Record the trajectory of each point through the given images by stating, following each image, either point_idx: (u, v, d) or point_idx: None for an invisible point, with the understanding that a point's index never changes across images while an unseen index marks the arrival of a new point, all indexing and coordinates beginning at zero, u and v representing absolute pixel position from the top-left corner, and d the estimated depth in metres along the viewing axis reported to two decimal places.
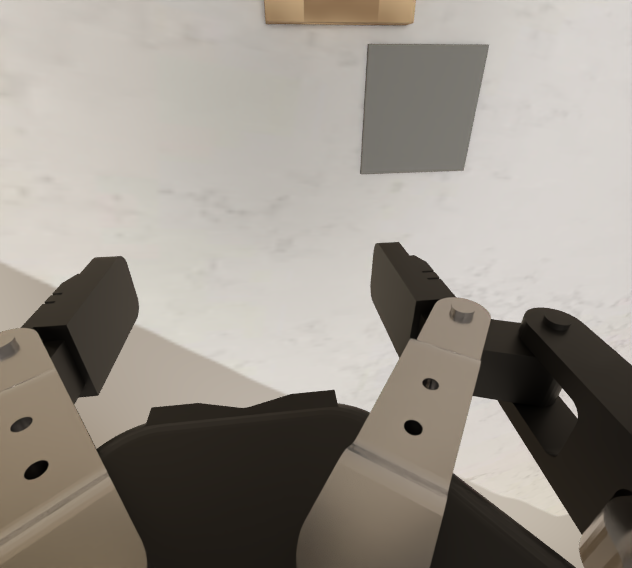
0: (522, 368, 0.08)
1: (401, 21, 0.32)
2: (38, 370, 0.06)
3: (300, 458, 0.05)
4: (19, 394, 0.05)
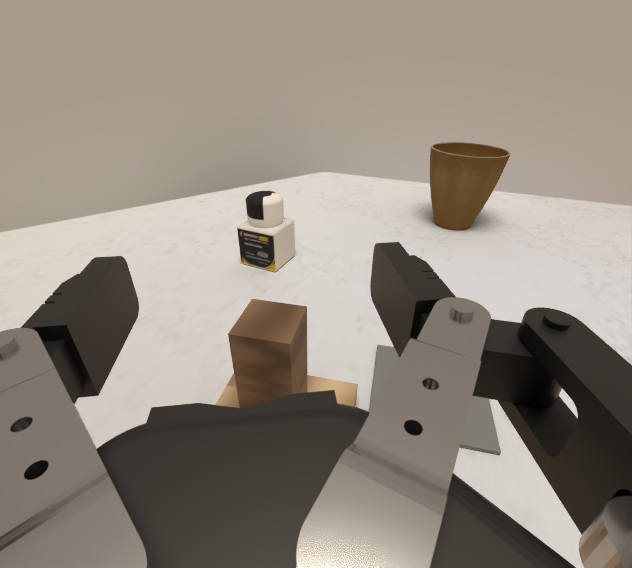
0: (522, 368, 0.08)
1: (355, 392, 0.36)
2: (38, 370, 0.06)
3: (300, 458, 0.05)
4: (19, 394, 0.05)
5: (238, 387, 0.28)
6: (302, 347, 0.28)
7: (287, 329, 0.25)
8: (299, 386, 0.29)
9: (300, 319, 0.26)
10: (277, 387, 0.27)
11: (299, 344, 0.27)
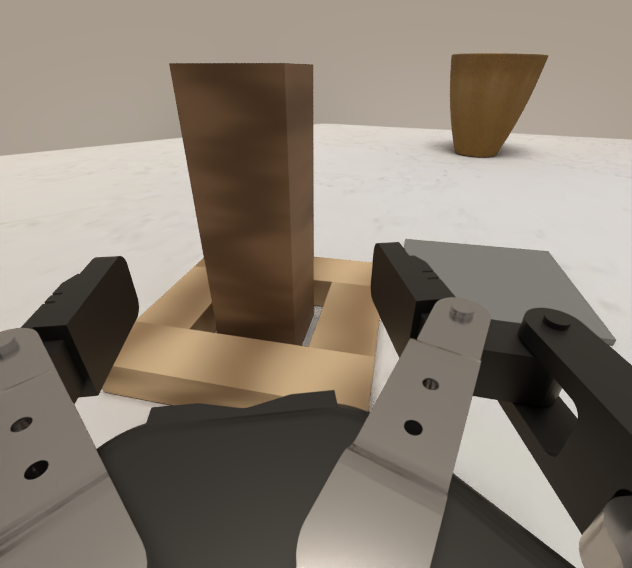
0: (522, 368, 0.08)
1: None
2: (38, 370, 0.06)
3: (300, 458, 0.05)
4: (19, 394, 0.05)
5: (197, 201, 0.16)
6: (306, 138, 0.17)
7: None
8: (301, 213, 0.17)
9: (302, 64, 0.15)
10: (264, 186, 0.15)
11: (301, 117, 0.15)
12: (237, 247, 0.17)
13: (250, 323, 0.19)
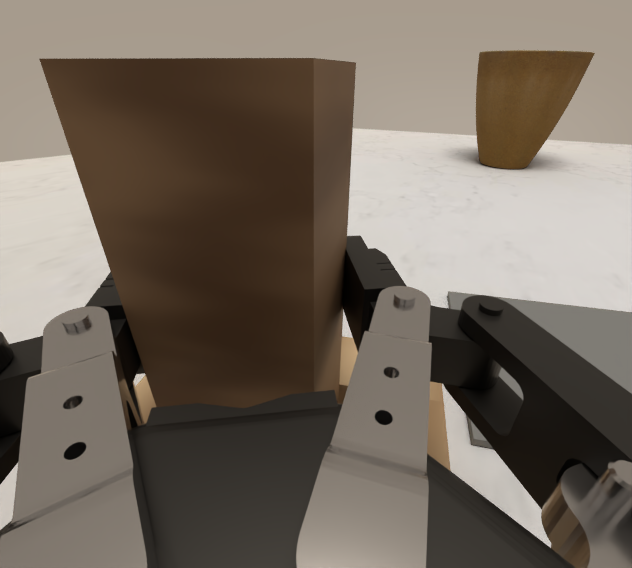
0: (459, 352, 0.08)
1: None
2: (101, 349, 0.07)
3: (300, 458, 0.05)
4: (77, 372, 0.06)
5: (135, 324, 0.08)
6: (341, 200, 0.09)
7: None
8: (330, 328, 0.10)
9: None
10: (262, 311, 0.07)
11: (337, 167, 0.08)
12: (212, 398, 0.09)
13: None
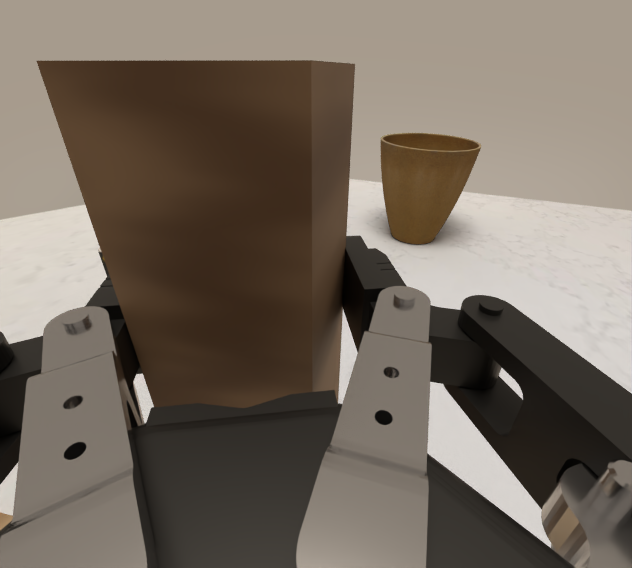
0: (459, 352, 0.08)
1: None
2: (101, 349, 0.07)
3: (300, 458, 0.05)
4: (78, 372, 0.06)
5: (133, 327, 0.08)
6: (340, 202, 0.09)
7: None
8: (329, 330, 0.10)
9: None
10: (260, 314, 0.07)
11: (335, 169, 0.08)
12: (210, 401, 0.09)
13: None
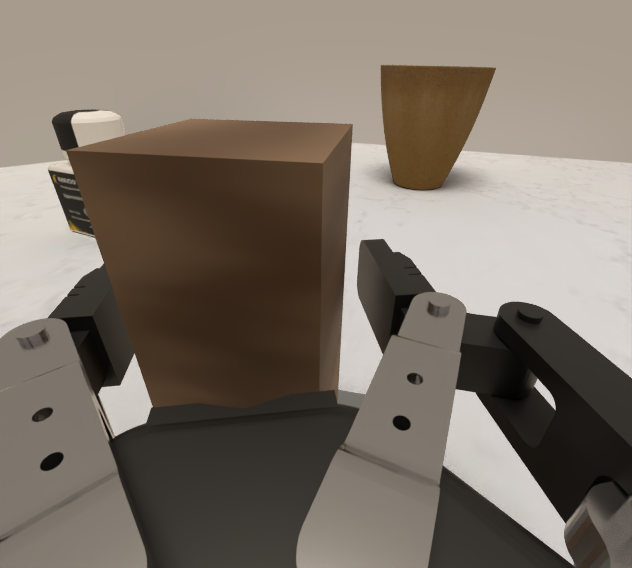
0: (496, 360, 0.08)
1: None
2: (64, 361, 0.07)
3: (300, 458, 0.05)
4: (43, 384, 0.05)
5: (148, 374, 0.09)
6: (340, 251, 0.10)
7: (303, 144, 0.07)
8: (330, 368, 0.10)
9: (342, 135, 0.08)
10: (270, 365, 0.08)
11: (337, 227, 0.08)
12: None
13: None
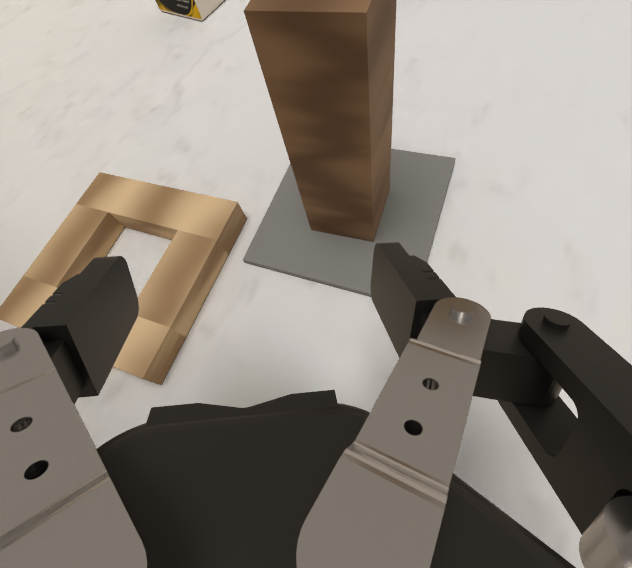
0: (522, 368, 0.08)
1: (229, 214, 0.25)
2: (38, 370, 0.06)
3: (300, 458, 0.05)
4: (19, 394, 0.05)
5: (284, 130, 0.17)
6: (387, 45, 0.15)
7: None
8: (381, 125, 0.18)
9: None
10: (345, 122, 0.16)
11: (383, 32, 0.14)
12: (321, 166, 0.19)
13: (335, 216, 0.23)
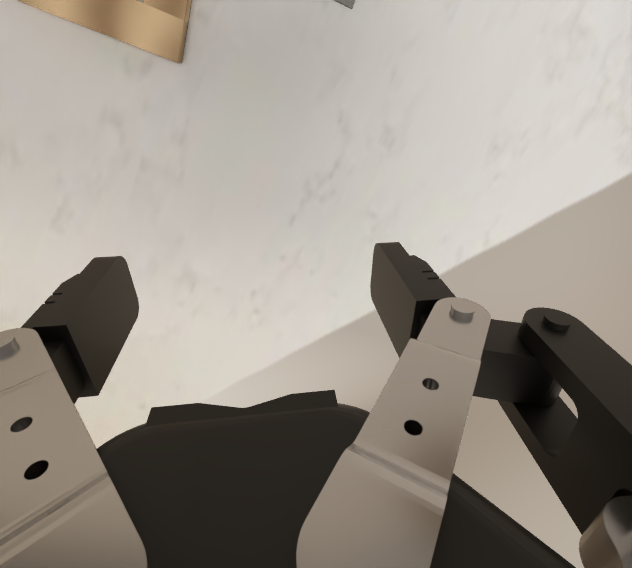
0: (522, 368, 0.08)
1: None
2: (38, 370, 0.06)
3: (300, 458, 0.05)
4: (20, 394, 0.05)
5: None
6: None
7: None
8: None
9: None
10: None
11: None
12: None
13: None
